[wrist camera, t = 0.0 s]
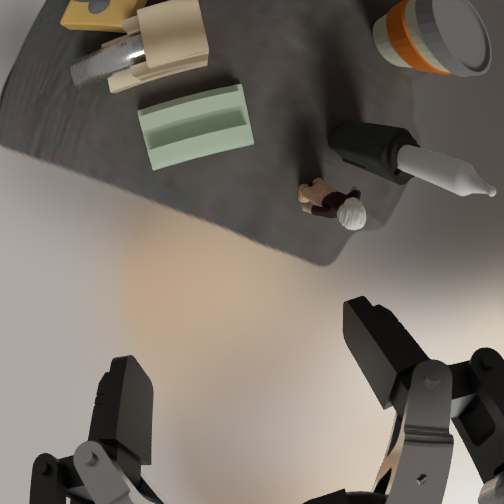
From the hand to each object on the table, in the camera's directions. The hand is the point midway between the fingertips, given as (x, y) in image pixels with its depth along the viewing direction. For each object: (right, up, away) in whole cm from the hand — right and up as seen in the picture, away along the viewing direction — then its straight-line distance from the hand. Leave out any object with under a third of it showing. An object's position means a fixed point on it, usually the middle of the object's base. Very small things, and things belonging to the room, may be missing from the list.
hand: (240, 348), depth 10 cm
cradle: (-7, +19, +22) cm, 30 cm away
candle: (+14, +19, +27) cm, 36 cm away
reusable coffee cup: (+22, +36, +20) cm, 47 cm away
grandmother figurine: (+9, +12, +29) cm, 33 cm away
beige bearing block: (-12, +28, +17) cm, 35 cm away
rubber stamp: (-18, +35, +12) cm, 41 cm away
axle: (-13, +26, +13) cm, 31 cm away
